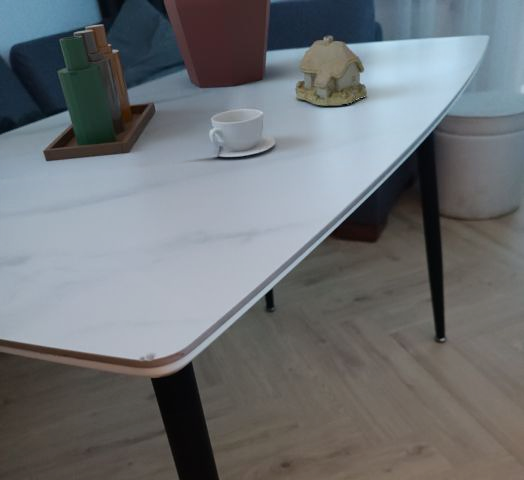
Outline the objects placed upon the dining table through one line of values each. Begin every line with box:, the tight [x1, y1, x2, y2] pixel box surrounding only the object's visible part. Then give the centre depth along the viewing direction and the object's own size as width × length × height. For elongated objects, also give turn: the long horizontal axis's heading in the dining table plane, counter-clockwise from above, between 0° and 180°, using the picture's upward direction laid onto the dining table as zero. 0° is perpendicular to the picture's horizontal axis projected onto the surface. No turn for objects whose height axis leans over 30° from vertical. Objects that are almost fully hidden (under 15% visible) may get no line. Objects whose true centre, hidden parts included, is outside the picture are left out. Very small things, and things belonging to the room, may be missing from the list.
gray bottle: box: [73, 29, 126, 134], centre depth 95 cm, size 6×6×15 cm
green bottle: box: [57, 35, 117, 146], centre depth 90 cm, size 6×6×15 cm
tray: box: [42, 102, 156, 162], centre depth 99 cm, size 13×26×2 cm, turn 0°
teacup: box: [208, 108, 276, 158], centre depth 85 cm, size 10×10×5 cm
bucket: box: [163, 0, 271, 89], centre depth 124 cm, size 24×22×25 cm
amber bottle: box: [84, 24, 133, 123], centre depth 101 cm, size 6×6×15 cm
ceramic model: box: [294, 35, 367, 106], centre depth 104 cm, size 14×11×10 cm
